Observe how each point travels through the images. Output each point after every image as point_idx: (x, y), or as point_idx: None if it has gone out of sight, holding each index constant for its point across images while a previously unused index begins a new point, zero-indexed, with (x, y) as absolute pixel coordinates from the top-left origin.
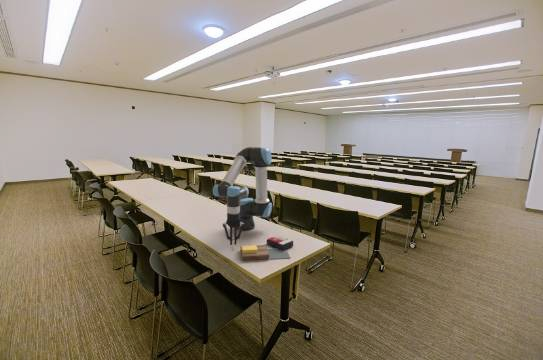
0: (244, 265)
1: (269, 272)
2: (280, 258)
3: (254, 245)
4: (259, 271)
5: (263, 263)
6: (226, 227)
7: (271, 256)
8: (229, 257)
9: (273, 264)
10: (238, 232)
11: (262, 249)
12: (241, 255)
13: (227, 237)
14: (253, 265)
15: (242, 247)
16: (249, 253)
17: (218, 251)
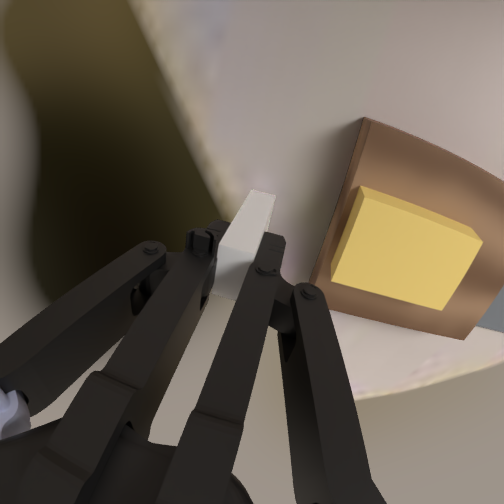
0: None
1: (375, 392)
2: (497, 330)
3: (470, 240)
4: None
5: (406, 339)
6: (36, 380)
7: None
8: (238, 195)
9: (436, 358)
10: (300, 361)
11: (490, 267)
12: (332, 221)
13: (136, 301)
14: (348, 337)
15: (355, 230)
16: None
17: (171, 68)
